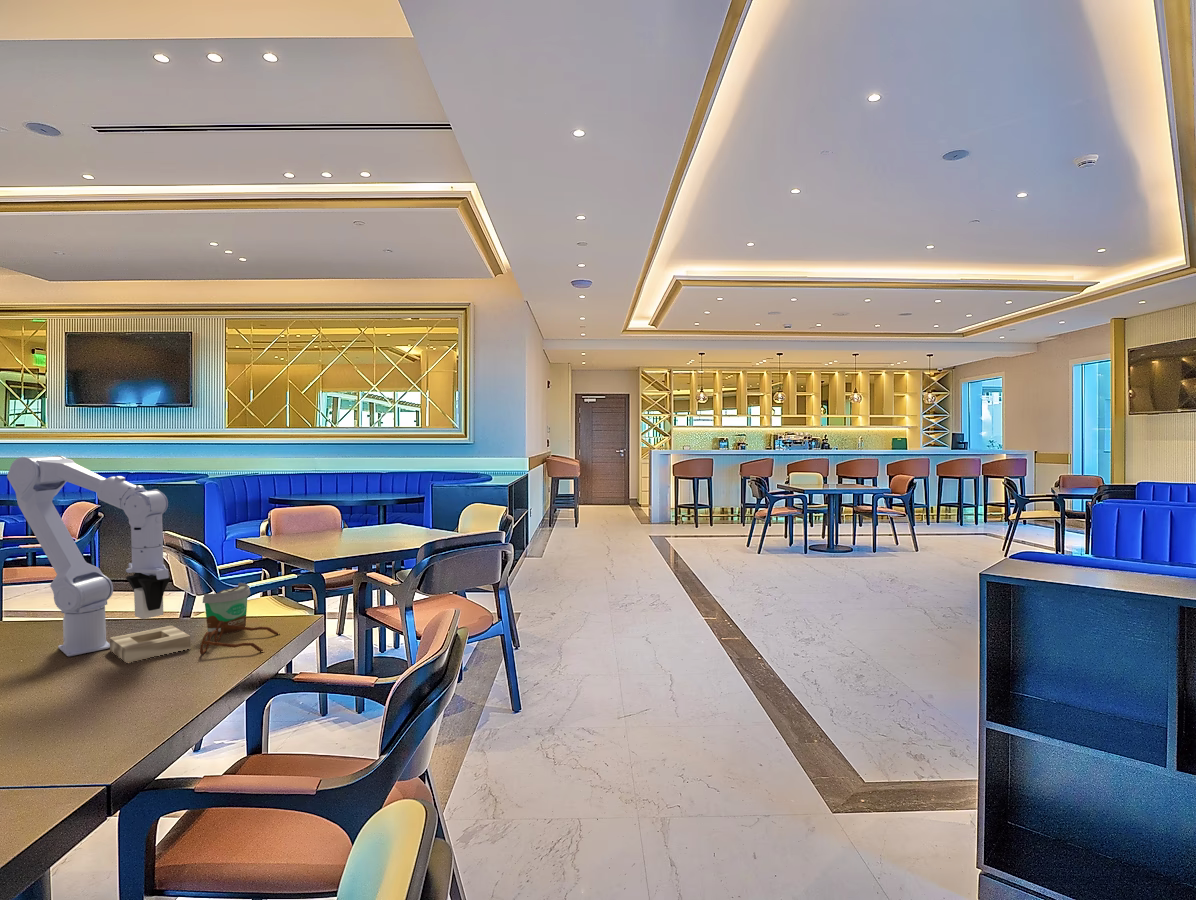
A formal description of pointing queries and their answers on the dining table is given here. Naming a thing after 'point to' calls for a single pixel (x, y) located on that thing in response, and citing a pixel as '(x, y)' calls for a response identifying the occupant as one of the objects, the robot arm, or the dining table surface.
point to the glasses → (230, 644)
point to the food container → (227, 608)
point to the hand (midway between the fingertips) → (149, 607)
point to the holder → (149, 643)
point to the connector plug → (144, 606)
